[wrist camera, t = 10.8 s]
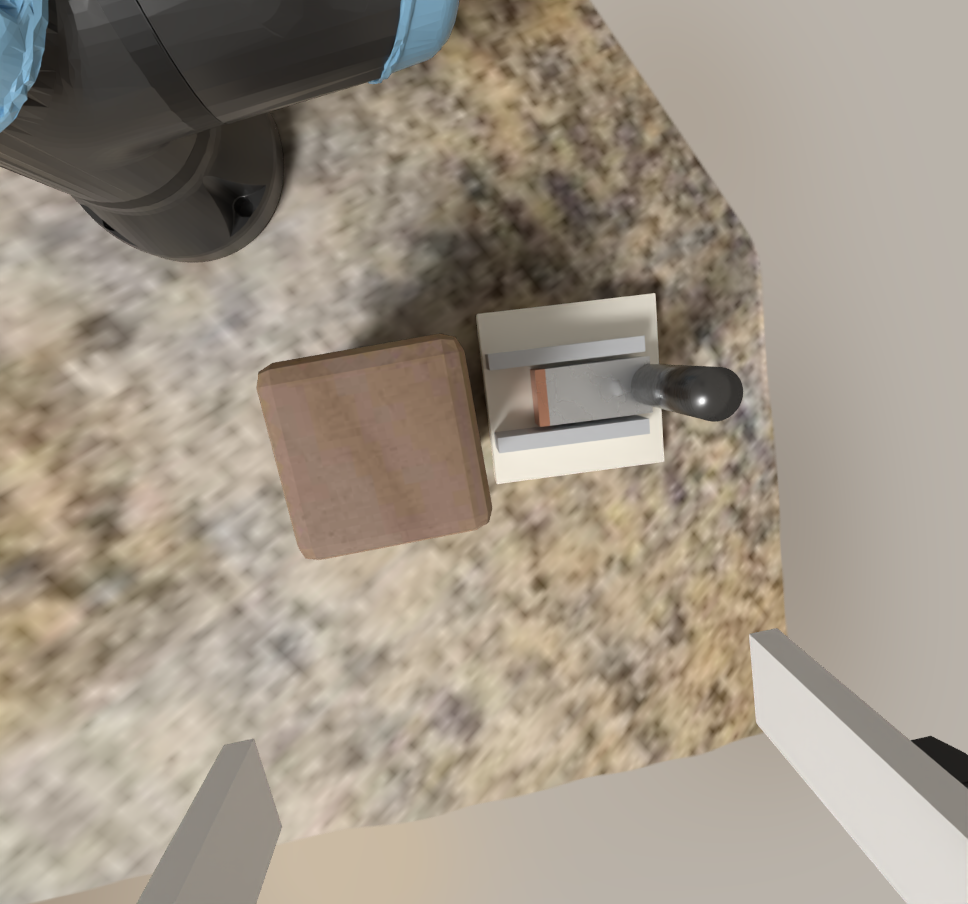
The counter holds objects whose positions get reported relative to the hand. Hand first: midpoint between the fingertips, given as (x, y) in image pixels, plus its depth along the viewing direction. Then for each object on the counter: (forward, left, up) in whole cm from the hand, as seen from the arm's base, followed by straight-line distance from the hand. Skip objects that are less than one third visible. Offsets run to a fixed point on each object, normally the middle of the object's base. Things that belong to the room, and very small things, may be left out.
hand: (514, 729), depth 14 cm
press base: (-5, +10, -33) cm, 34 cm away
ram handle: (-5, +11, -30) cm, 33 cm away
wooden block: (-5, -4, -33) cm, 34 cm away
